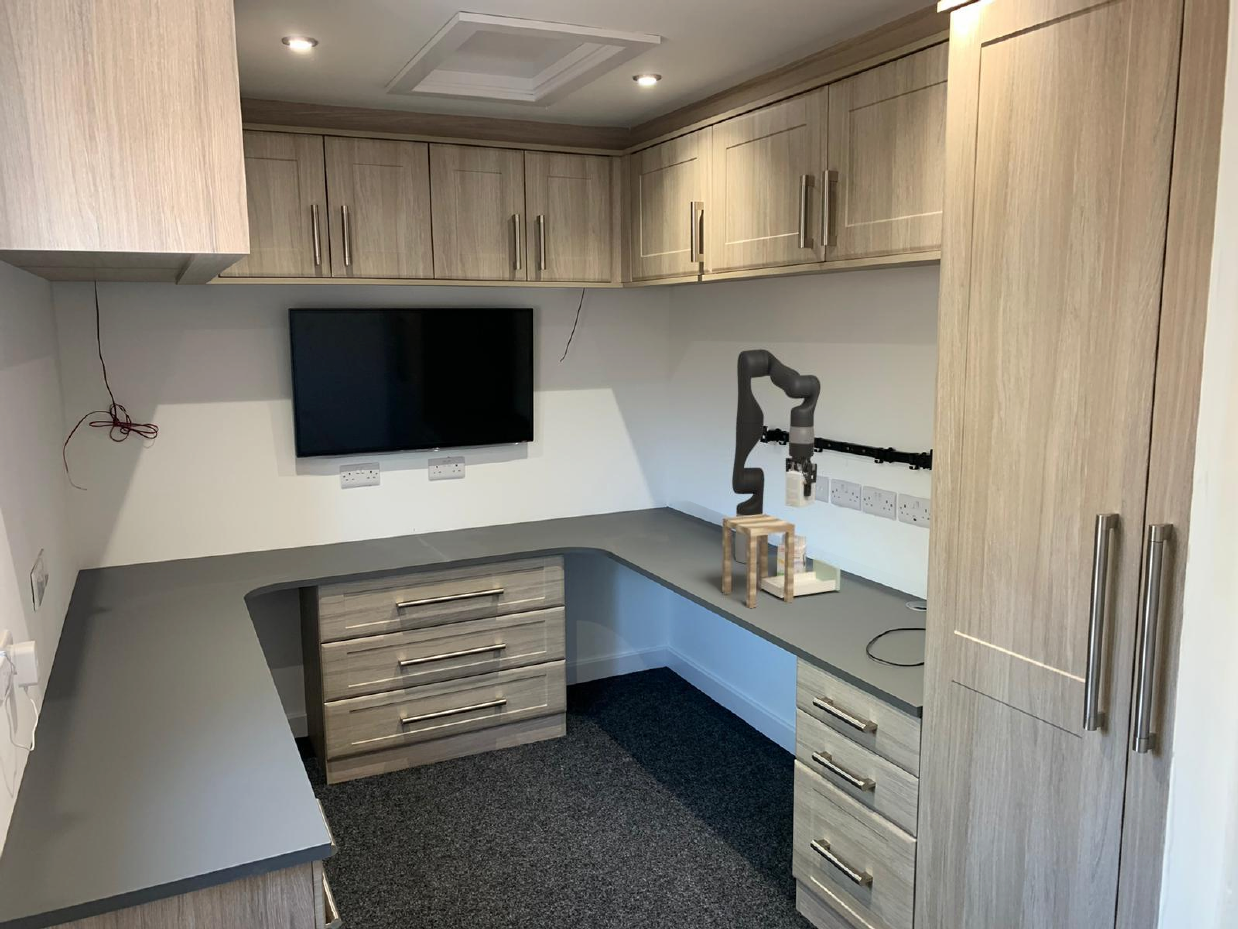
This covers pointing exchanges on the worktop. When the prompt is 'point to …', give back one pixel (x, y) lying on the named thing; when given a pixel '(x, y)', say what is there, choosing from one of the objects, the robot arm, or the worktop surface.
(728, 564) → the wooden step stool
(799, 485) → the small box
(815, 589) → the drawer
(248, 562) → the worktop surface
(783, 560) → the ink box
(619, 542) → the worktop surface
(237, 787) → the worktop surface
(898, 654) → the worktop surface
